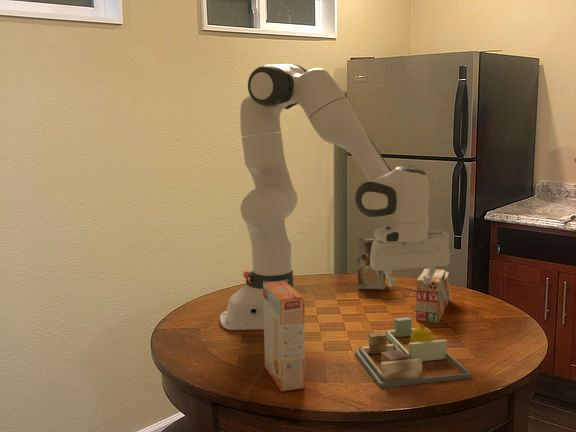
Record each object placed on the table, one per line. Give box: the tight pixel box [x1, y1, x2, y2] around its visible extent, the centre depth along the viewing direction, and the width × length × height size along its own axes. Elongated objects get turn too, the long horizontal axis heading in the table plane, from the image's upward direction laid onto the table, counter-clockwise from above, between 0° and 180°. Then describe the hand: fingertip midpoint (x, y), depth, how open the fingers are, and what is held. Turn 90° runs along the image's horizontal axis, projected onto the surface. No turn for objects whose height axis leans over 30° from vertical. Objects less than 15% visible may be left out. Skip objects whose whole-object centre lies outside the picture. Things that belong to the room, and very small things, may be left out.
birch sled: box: [358, 332, 423, 382], centre depth 148 cm, size 9×18×4 cm, turn 11°
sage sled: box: [384, 316, 448, 362], centre depth 159 cm, size 9×18×4 cm, turn 11°
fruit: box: [410, 323, 435, 343], centre depth 154 cm, size 6×6×8 cm
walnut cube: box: [380, 350, 408, 363], centre depth 145 cm, size 4×4×4 cm
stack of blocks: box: [415, 268, 450, 324], centre depth 186 cm, size 21×6×12 cm, turn 158°
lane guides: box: [354, 350, 473, 388], centre depth 148 cm, size 21×19×1 cm
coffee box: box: [356, 237, 386, 290], centre depth 210 cm, size 9×6×16 cm
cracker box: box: [263, 281, 306, 393], centre depth 141 cm, size 14×6×21 cm, turn 17°
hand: (409, 284), depth 160 cm, fingers open, 8 cm apart
